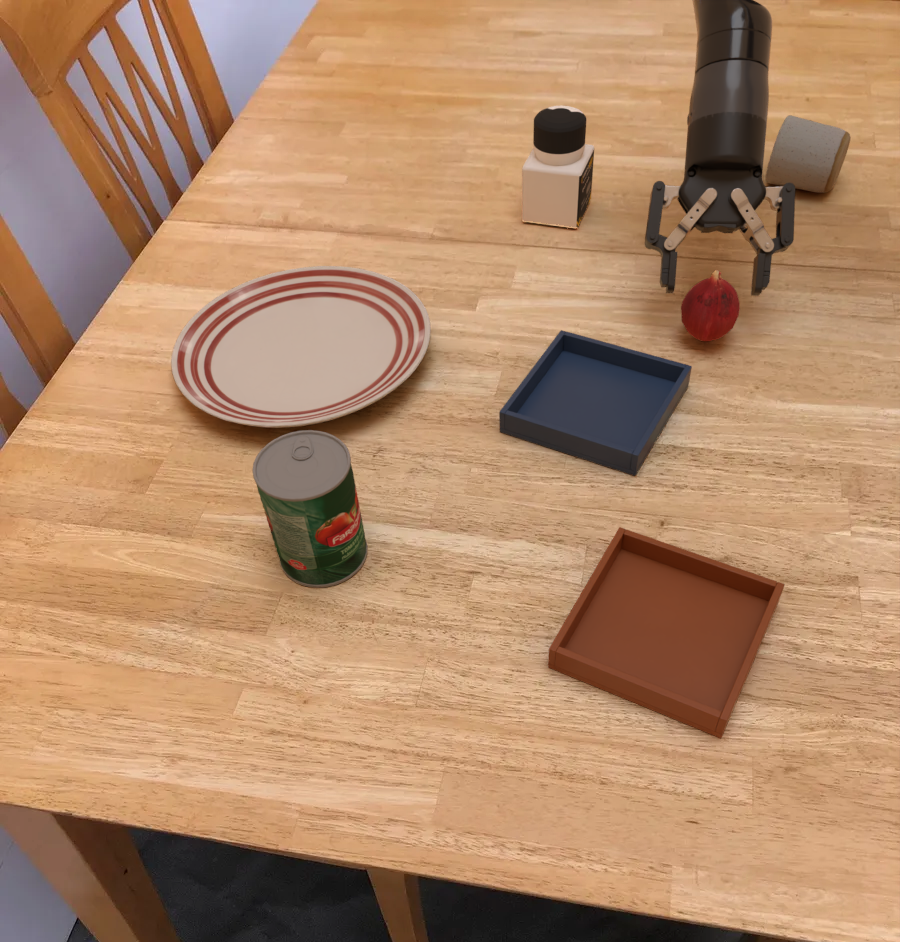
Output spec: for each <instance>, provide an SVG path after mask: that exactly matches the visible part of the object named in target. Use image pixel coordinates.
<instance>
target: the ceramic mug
mask: <svg viewBox="0 0 900 942" xmlns="http://www.w3.org/2000/svg"><path fill="white" fill-rule="evenodd" d="M850 142H851V134H850V133H849V131H847V130H845V129H843V128H840V127H838V126H834V125H829V124H825V123H821V122H817V121H814V120H810V119H807V118H802V117H799V116H796V115H791V114H790V115H787V116H786V117H785V119H784V120H783V122H782V124H781V126H780V127H779V130H778V132H777V135H776V138H775V140H774V143H773V147H772V151H771V153H770V157H769V161H768V164H767V167H766V172H765V182H766V183H767V184H771V185H775V186H780V187H781V186H784V185H785V184H786V183H789V182H790V183H793V184H794V185H795V189H797V190H802V191H808V192H813V193H828V192H830V191H831V190H833V188H835V187H834V186H835V185H836V183H837V179H838V178H839V175H840V173H841V170H842V167H843V164H844V162H845V159H846V156H847V154H848V150H849V147H850Z"/></svg>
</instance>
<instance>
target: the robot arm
mask: <svg viewBox="0 0 900 942" xmlns="http://www.w3.org/2000/svg"><path fill="white" fill-rule="evenodd" d="M692 6H693V10H694V11H693V13H694V20H695V26H696V38H697V39H696V49H695V50H696V52H695V66H694V77H693V84H692V89H691V94H690V99H689V107H688V115H687V118H686V119H687V120H686V124H687V133H686V145H685V159H684V172H683V180H682V183H681V184H680V186H679V185H669V184H668V185H666V183H665V182H664V181H662V180H657V181H656V182H654V183H653V185H652V188H651V191H650V198H649V205H648V211H647V212H648V213H647V220H646V229H645V235H644V242H643V243H644V244H643V245H644V247H645V248H646V249H648V250H654V251H656V252H658V253H659V254H660V257H661V259H660V260H661V261H660V272H659V284H660V287H661V288H665V294H674V291H675V288H676V276H677V266H678V265H677V264H678V251H677V249H678V247H679V246H680V245H681V244H682V243H683V241H685V240H686V238H687V237H688V236H689V235H690V234H691V233H692V231H693V230H694V229H696V230H698V231H700V233H701V234H710V233H714V232H719V233H722V234H733V233H734V232H737V231H739V232H740V233H741V235H742V237H743V239H744V240H745V241H746V242H748V243H749V245H750V247H751V248H752V249H753V250H754V252H755V254H756V256H755V257H754V258H753V265H752V276H751V288H750V295H751V296H752V297H759V296H760V295H761V294H762V293H763V291H765V290H766V289H767V288H768V286H769V284H770V280H771V271H772V260H773V259H772V258H773V257H772V256H774V255H775V254H777V253H784V252H785V251H787V249H788V248H789V247H790V246H791V245H792V244H793V243H794V239H795V238H794V237H795V211H796V209H795V207H796V188H795V185H794V184H793V183H790V182H789V183H786V184H785V185H784V186H781V185H780V186H766V185H765V182H764V180H763V173H764V171H763V170H764V161H765V160H764V159H765V150H766V149H765V147H766V137H767V124H768V114H769V113H768V112H769V103H770V87H769V70H770V60H771V50H772V49H771V47H772V36H773V18H772V14H771V12H770V10H769V9H768V8H767V7H766V6H765V5H764V4H762V3H759V2H757V1H756V0H692ZM676 199H677V201H678V204H679V205H680V207H681V208H682V209H683V211H684V213H685V214H686V215H684V217H683V218H682V219H681V220H680V221H679V223H678V224H677V226H676V227H675V228H674V229H673V230H672V231H671V233H670V234H668V235H669V236H665V235H662V234H660V231H661V230H660V229H661V223H662V215H663V210H667V209H668V208H669V207H670V206H671V204H672V201H674V200H676ZM763 201H767V202H768V203H769V206H770V209H771V210H772V211H774V212H776V213H775V215H776V218H775V219H776V220H775V237H773V238H771V236H770V235H769V233H768V231H767V230H766V228H765V225H764V223H763V221H762V220H761V218H760V216H759V215H758V214H757V212H756V211H757V209H758V208H759V207H760V205H761V204H762V203H763Z"/></svg>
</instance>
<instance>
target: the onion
mask: <svg viewBox="0 0 900 942" xmlns="http://www.w3.org/2000/svg"><path fill="white" fill-rule="evenodd" d="M740 305H741V304H740V299H739V295H738V292H737V291H736V289H735V287H734V286H733V285H732V284H731V283H730V282H729V281H727V280H726V279H724V278H722V272H721V271H720V270H718V269H714V271H713V272H712V273H711V274H710V276H709V277H707V278H704V279H702V280H701V281H699V282H697V283H696V284H694V285H693V286H691V288H690V289H689V290H688V292H687V293H686V295H684V298H683V300H682V301H681V305H680V312H681V322H682V324H683V327H684V328H685V330H686V332H687V333H688V334H689V335H690V336H692V338H694V339H696V340H698V341H701V342H711V341H715V340H719V339H721V338H723V337H725V336H726V335H727V334H729V332H731V330H733V329H734V327H735V325H736V322H737V320H738V318H739V315H740V310H741V306H740Z"/></svg>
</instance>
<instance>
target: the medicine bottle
mask: <svg viewBox="0 0 900 942" xmlns="http://www.w3.org/2000/svg"><path fill="white" fill-rule="evenodd" d="M586 133H587V116H586V115H585V114H584V112H583V111H582V110H581V109H579V108H577V107H573V106H570V105H552V106H549V107H546V108H543V109H542V110H540V111H539V112H537V114H536V115H535V116H534V118H533V139H532V140H533V142H532V143H533V145H532V149H531V151H530V153H529V155H528V156H527V158H526V160H525V162H524V163H523V165H522V168H521V221H522V220H524V221H533V222H541V223H546V224H547V223H548V224H556V225H558V224H559V225H564V226H569V227H571V226H572V227H578V226H579V227H580V225H579V224H581V223H580V221H581V222H582V220H583V218H584V216H585V214H584V213H586V212H587V209H588V207H589V205H590V203H591V201H590V199H591V200H592V189H593V175H594V174H593V173H594V162H595V161H594V159H595V145H593V144H588V143H587V144H586V137H587V136H586V135H587V134H586ZM589 202H590V203H589ZM588 204H589V205H588ZM586 208H587V209H586ZM585 211H586V212H585ZM583 215H584V216H583ZM582 217H583V218H582ZM581 219H582V220H581ZM579 227H578V228H579Z"/></svg>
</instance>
